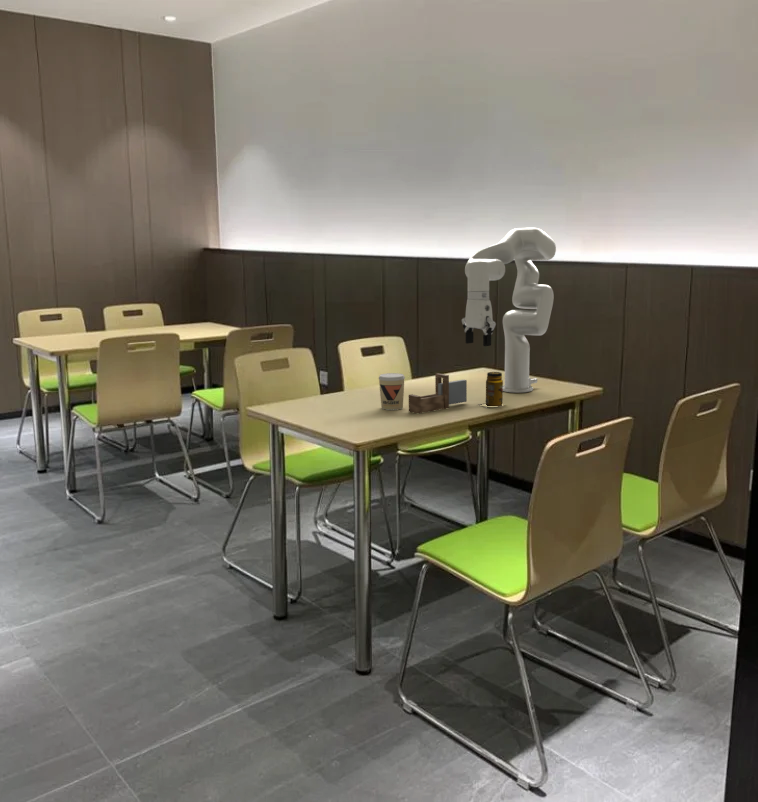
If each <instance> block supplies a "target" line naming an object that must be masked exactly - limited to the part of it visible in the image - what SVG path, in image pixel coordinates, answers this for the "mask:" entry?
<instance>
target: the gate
mask: <svg viewBox="0 0 758 802" xmlns="http://www.w3.org/2000/svg"><path fill="white" fill-rule="evenodd" d="M467 383H468V382H467V379H459V380H453V381H452V380H451V381H449V406H450V405H454V404H455V405H456V404H460V403H466V402H467V401H468V400H467V399H468V398H467V397H468V396H467V388H468V387H467ZM439 395H443V382H442V383H438V396H439Z"/></svg>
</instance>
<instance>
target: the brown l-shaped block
mask: <svg viewBox="0 0 758 802" xmlns="http://www.w3.org/2000/svg"><path fill="white" fill-rule="evenodd" d="M434 379H435V380H434V381H435V391H434V392H435V393H432V394H427V395H426V394H425V395H416V394H413V393H412V394H408V412H409V411H410V413H412V412H414V413H413V414H416V413H419V414H423V413H422V412H425V413H429V412H428V411H430V412H434V410H436V411H440V410H439V409H441V410H447V409H446V408H449V409H450V405H449V382H450V376H449V374H444V373H439V372H438V373H435V378H434ZM438 383H443V395H439V396H438Z"/></svg>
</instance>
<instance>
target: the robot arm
mask: <svg viewBox="0 0 758 802" xmlns="http://www.w3.org/2000/svg"><path fill="white" fill-rule="evenodd" d="M556 252H557V246H556V243H555V240H554V239H553V238H552V237H551V236H550V235H548V234H547V232H545V231H543V230H542V229H541V228H538V227H518V228H517V227H516V228H513V229H511V230H509V231H508V232H507V233H506V234H505V235H504V236H503V237H502V239H501V240H499V242H497V243H495V244H492V245H490V246H488V247H485V248H483V249H480V250H478V251H477V252H475V253H474V254H473V255H472V256H471V257H470V258H469V259H468V260H467V262H466V264H465V268H464V273H465V276H466V278H467V300H466V307H465V317H462V319H461V323H462V327H463V329H464V333H465V344H473V343H474V329H476V330H477V329H479V330H481V331H482V332H483V335H482V343H483V344H482V346H483V347H490V346H492V335H493V332H494V331H495V328H496V325H497V323H496V321H494V320H493V308H492V307H493V306H492V302H491V300H490V281H499V280H501V279H502V278H503V277H504V276H505V273H506V265H507V264H509V263H511V262H513V261H514V263H515V266H516V269H517V271H516V272H517V274H516V275H517V276H516V279H515V283H514V289H513V292H512V298H511V299H512V300H511V301H512V305H513V306H514V307H515V308H518V309H511V310H508V311H506V312H505V314H503V316H502V327H503V332H504V333H503V334H504V384H503V392H505V393H514V394H515V393H519V394H520V393H521V394H522V393H529V392H533V390H534V387H533V386H532V385H533V384H537V383H538V379H537V377H534V378H531V377H530V353H531V352H530V350H531V347H530V343H529V341H528V339H527V338H526V336H543V335H544V334H546V332H547V330H548V327H549V323H550V320H551V314H552V309H553V305H554V300H555V299H554V297H555V296H554V290H553V288H552V287H551V286H550V285H548V284H539V280H540V272H539V270H538V268H537V266H536V265H535V264H534V263H533V261H549V260H552V259H554V257H555V255H556Z"/></svg>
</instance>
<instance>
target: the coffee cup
mask: <svg viewBox="0 0 758 802" xmlns="http://www.w3.org/2000/svg"><path fill="white" fill-rule="evenodd" d="M405 378H406V377H405V375H404V374H403V373H400V372H399V373H398V372H397V373H395V372H387V373H380V375H379V376H378V381H379V383H378V384H379V396H380V404H381V405H380V406H381V409H382V410H384V409H386V410H385V411H398V410H397V409H400V410H402V409H403V408H404V394H405V380H406V379H405Z"/></svg>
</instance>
